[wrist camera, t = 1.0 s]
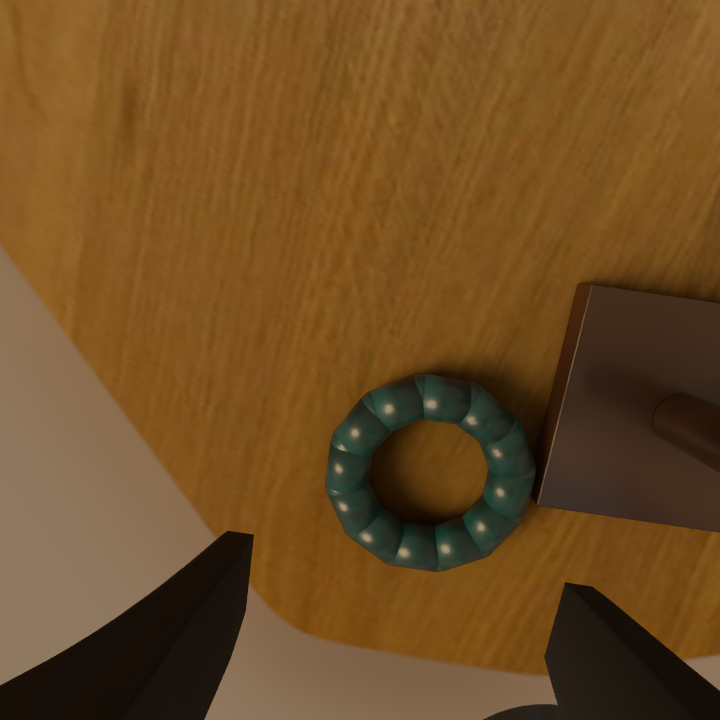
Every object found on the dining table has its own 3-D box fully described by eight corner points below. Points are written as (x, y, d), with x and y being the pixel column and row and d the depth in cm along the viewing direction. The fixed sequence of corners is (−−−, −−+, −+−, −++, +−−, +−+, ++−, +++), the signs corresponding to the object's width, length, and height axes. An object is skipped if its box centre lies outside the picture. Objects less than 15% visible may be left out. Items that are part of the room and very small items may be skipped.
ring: (502, 564, 20) (514, 593, 18) (318, 537, 20) (312, 563, 18) (544, 387, 18) (562, 399, 16) (343, 357, 18) (339, 367, 16)
